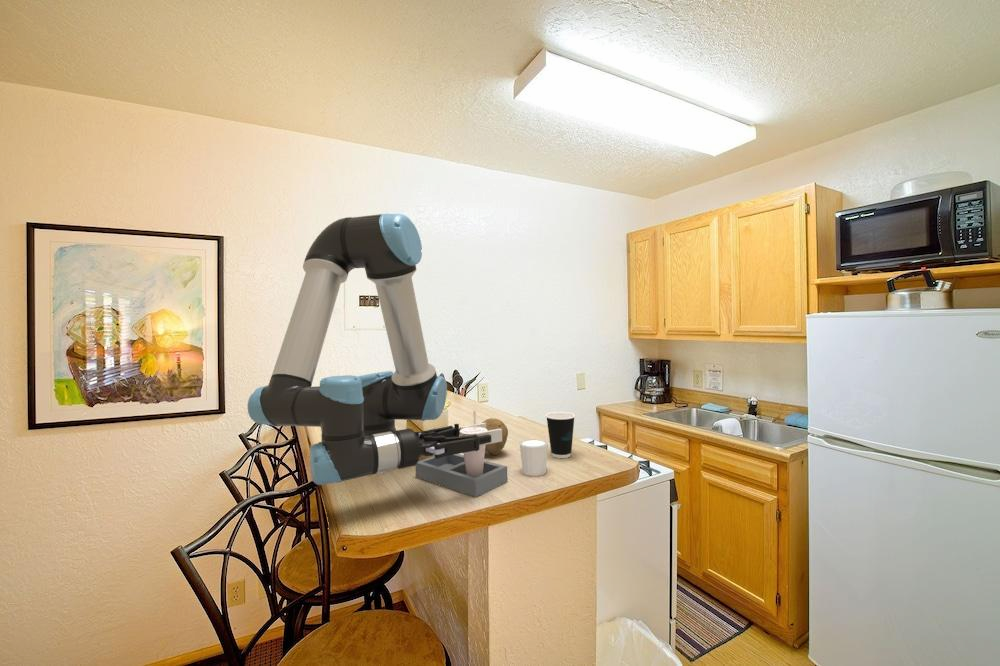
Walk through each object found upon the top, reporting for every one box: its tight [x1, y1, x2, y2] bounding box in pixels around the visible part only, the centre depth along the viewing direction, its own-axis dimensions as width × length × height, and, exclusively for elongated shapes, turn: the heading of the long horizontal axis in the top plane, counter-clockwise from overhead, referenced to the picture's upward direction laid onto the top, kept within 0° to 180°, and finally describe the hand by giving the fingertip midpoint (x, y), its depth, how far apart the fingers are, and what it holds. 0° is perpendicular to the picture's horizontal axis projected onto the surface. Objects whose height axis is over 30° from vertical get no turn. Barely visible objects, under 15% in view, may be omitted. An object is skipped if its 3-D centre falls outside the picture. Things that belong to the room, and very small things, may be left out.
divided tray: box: [415, 453, 508, 498], centre depth 95 cm, size 20×10×4 cm, turn 50°
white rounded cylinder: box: [519, 439, 549, 477], centre depth 99 cm, size 7×7×7 cm
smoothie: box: [459, 410, 487, 476], centre depth 92 cm, size 6×6×14 cm
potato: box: [481, 417, 509, 456], centre depth 113 cm, size 9×9×10 cm
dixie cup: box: [545, 411, 576, 459], centre depth 110 cm, size 8×8×11 cm
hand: (492, 431), depth 95 cm, fingers closed on smoothie, 6 cm apart
